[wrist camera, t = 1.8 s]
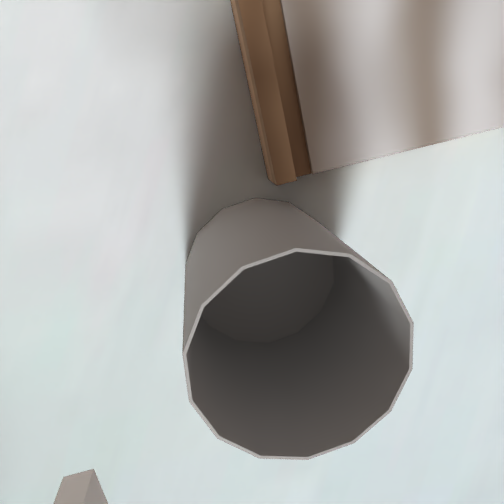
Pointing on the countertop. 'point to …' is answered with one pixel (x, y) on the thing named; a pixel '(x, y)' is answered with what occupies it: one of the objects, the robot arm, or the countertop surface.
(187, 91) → the countertop surface
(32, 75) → the countertop surface
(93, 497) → the robot arm
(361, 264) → the cup
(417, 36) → the wooden tray
